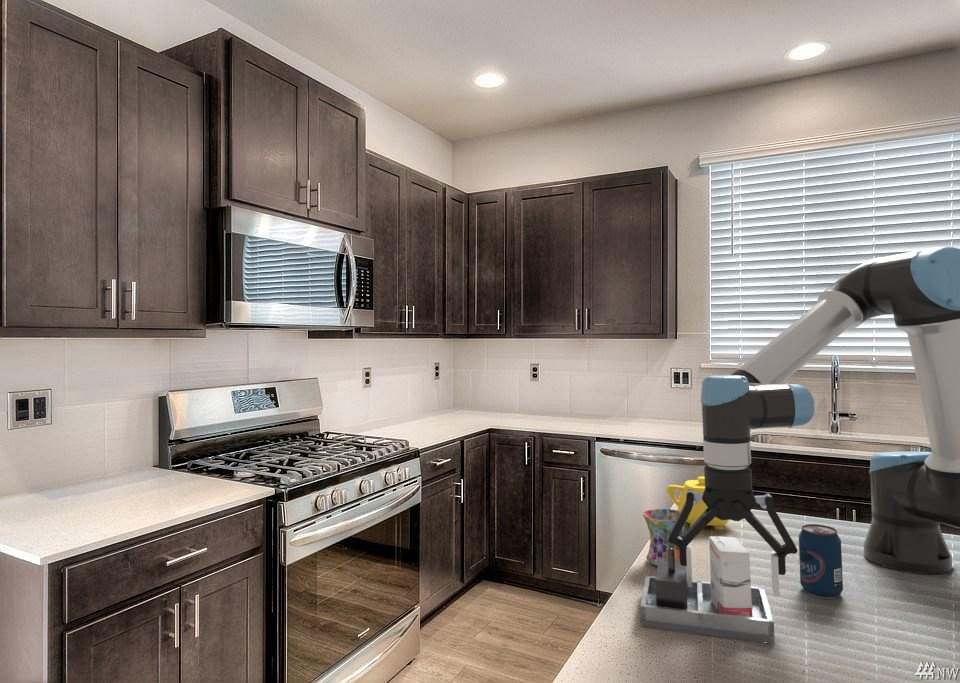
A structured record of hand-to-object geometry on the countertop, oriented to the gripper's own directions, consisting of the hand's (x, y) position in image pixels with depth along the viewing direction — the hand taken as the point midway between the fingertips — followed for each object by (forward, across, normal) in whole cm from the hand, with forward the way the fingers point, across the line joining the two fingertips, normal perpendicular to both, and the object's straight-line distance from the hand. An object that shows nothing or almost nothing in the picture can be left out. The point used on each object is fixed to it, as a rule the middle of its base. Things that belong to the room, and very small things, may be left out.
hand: (731, 588), depth 99 cm
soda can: (+6, -16, -16) cm, 24 cm away
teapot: (+6, +3, -54) cm, 54 cm away
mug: (+6, +12, -25) cm, 28 cm away
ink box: (+4, 0, 0) cm, 4 cm away
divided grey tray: (+5, +5, 0) cm, 7 cm away
